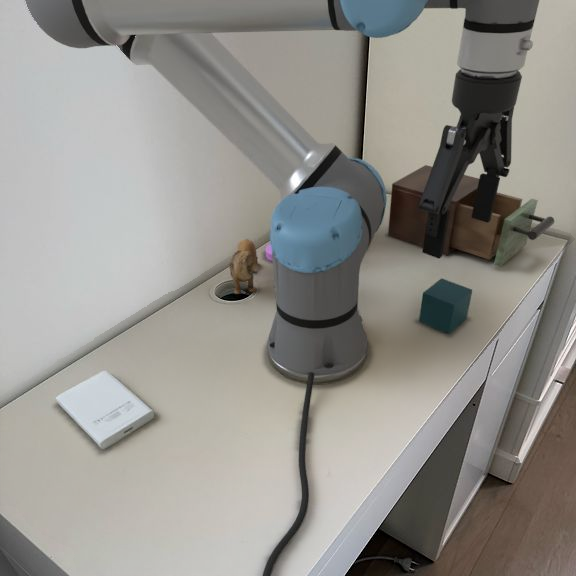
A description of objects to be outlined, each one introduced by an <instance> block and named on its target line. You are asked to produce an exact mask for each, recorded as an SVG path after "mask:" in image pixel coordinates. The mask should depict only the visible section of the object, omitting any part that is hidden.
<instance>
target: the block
mask: <svg viewBox="0 0 576 576" xmlns="http://www.w3.org/2000/svg"><path fill="white" fill-rule="evenodd" d="M472 294H473V289H472V288H469V287H466V286H464V285H461V284H459V283H455V282H452V281H450V280H448V279H445V278H442V277H441V278H440V279H439V280H437V281H436V282H435V283H433V284H432V285H431V286H430V287H429V288H427V289H426V290H425V291H423V292H422V297H421V304H420V310H419V318H418V322H419V323H422V324H424V325H426V326H428V327H430V328H433V329H435V330H437V331H440V332H442V333H444V334H447V335H450V334H451V333H452V332H453V331H455V330H456V329H457V328H458V327H459V326H460V325H461V324H462V323H463V322H465V321H466V320H467V317H468V314H469V313H468V312H469V309H470V303H471V299H472Z"/></svg>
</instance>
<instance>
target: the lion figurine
mask: <svg viewBox="0 0 576 576" xmlns="http://www.w3.org/2000/svg"><path fill="white" fill-rule="evenodd" d="M258 260H259V257H258V256H257V249H256V245H255V243H254V242H253V241H252V240H250V239H248V238H245V239H243V240H241V241H239V242H238V244H237V250H236V252H234V253H233V254H232V256H231V259H230V261H229V264H228V265H229V273H230V276H231V277H232V281H233V285H234V288H235V289H234V291H233V293H234V294H235V295H240V294H241V293H242V288H241V285H240V283H247V290H248V292H250V293H253V292H255V291H256V290H257V289H256V287H255V286H254V275H256V276H257V275H258V273H259V270H260V268H261V267H262V265H261V264H260V263H259V261H258Z"/></svg>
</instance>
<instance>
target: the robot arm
mask: <svg viewBox="0 0 576 576" xmlns="http://www.w3.org/2000/svg"><path fill="white" fill-rule="evenodd" d="M25 1H26V4H27V7H28V9H29V10H28V9H27V10H28V12H29V11H30V12H29V14H30V13H31V14H30V16H31V15H32V16H31V18H32V17H33V18H34V19H33V18H32V19H33V20H34V22H35V21H36V22H37V23H36V22H35V23H36V25H37V26H38V25H39V26H38V27H39V28H40V29H41V30H42V31H43V33H45V34H46V35H47V36H48V37H49V38H51V39H53V40H54V41H56V42H57V43H59V44H60V45H63V46H66V47H69V48H74V49H87V48H94V47H105V46H107V47H109V46H113V47H116V45H117V46H118V47H119V48H120V50H121V51H122V52H123V53H124V54H125V55H126V56H125V55H124V54H123V53H122V52H121V51H120V50H119V51H120V52H121V53H122V54H123V55H124V56H125V57H126V58H127V59H128V60H129V61H130V62H131V63H132V64H133V65H136V66H146V65H148V66H151V67H152V68H154V69H155V70H156V71H157V72H158V73H159V74H160V75H161V76H162V77H163V78H164V79H165V80H166V81H167V82H168V83H169V84H170V85H171V86H172V87H173V88H174V89H175V90H176V91H177V92H178V93H179V94H180V95H181V96H182V97H183V98H185V100H186V101H187V102H188V103H190V105H191V106H193V107H194V108H195V109H196V111H198V112H199V114H201V115H202V116H203V117H204V118H205V119H206V120H207V121H208V122H209V123H210V124H211V125H212V126H213V127H214V128H215V129H216V130H217V131H218V132H219V133H220V134H221V136H223V137H224V138H225V139H226V140H227V141H228V142H229V143H230V144H231V145H232V146H233V147H234V148H235V149H236V150H237V151H239V152H240V154H241V155H243V157H245V159H247V160H248V161H249V162H250V163H251V165H253V166H254V167H255V168H256V170H258V171H259V172H260V173H261V174H262V175H263V176H264V177H265V178H266V179H267V180H268V181H269V183H271V184H272V185H273V186H274V187H275V188H276V189H277V190H278V191H277V192H278V197H279V202H278V204H277V205H276V206H275V208H274V210H273V212H272V213H271V214H272V215H271V218H270V231H269V232H270V234H269V244H270V245H271V249H272V259H273V261H272V271H273V281H274V294H275V306H276V307H275V308H276V311H275V315H274V318H273V321H272V324H271V327H270V330H269V334H268V337H267V342H266V343H267V345H266V349H267V358H268V361H269V363H270V365H271V366H272V368H273V369H274V370H275V371H276V372H277V373H278V374H280V375H281V376H283V377H284V378H287V379H289V380H292V381H294V382H298V383H303V384H306V387H305V393H304V401H303V407H302V414H301V423H300V431H299V443H298V472H299V478H300V479H299V480H300V487H301V500H300V507H299V511H298V514H297V516H296V518H295V520H294V521H293V523H292V525H291V526H290V528H289V529H288V531H287V532H286V533H285V534H284V536H283V537H282V538H281V539H280V541H279V542H278V543H277V544H276V546H275V547H274V549H273V550H272V551H271V554H270V555H269V557H268V558H267V561H266V563H265V566H264V569H263V572H262V576H272V572H273V569H274V567H275V565H276V563H277V561H278V558H279V557H280V555H281V553H282V552H283V550H284V549H285V548H286V547H287V545H289V543H290V542H291V541H292V539H293V537H295V535H296V534H297V532H298V531H299V529H300V528H301V526H302V525H303V523H304V520H305V518H306V515H307V513H308V507H309V501H310V500H309V499H310V494H309V493H310V489H309V482H308V480H309V479H308V475H307V467H306V448H307V447H306V446H307V433H308V424H309V414H310V413H309V412H310V406H311V399H312V393H313V386H314V385H323V384H331V383H336V382H339V381H342V380H346V379H347V378H349V377H351V376H353V375H354V374H356V373H357V372H358V371H359V370H361V368H362V367H363V366H364V364H365V363H366V361H367V358H368V354H369V353H368V352H369V341H368V340H369V339H368V335H367V333H366V331H365V328H364V324H363V318H362V316H361V315H360V312H359V309H358V308H359V307H358V306H359V304H358V301H359V285H360V271H361V270H360V269H361V265H362V262H363V260H364V258H365V255H366V253H367V251H368V249H369V247H370V245H371V243H372V241H373V239H374V237H375V235H376V233H377V232H378V230H379V229H380V227H381V225H382V223H383V221H384V218H385V212H386V207H387V199H388V198H387V197H388V196H387V189H386V185H385V182H384V181H383V178H382V175H380V173H379V172H378V170H377V169H376V168H375V167H374V166H373V165H371V164H370V163H369V162H367V161H365V160H363V159H361V158H357V157H355V158H353V157H348V156H347V155H346V154H345V153H344V152H343V151H342V150H341V149H340V148H339V147H338V146H337V145H336V144H335V143H321V142H318V141H317V140H316V139H315V138H314V137H313V136H312V135H311V134H310V133H309V132H308V131H307V130H306V129H305V128H304V127H303V125H301V123H300V122H298V120H297V119H295V118H294V116H292V114H291V113H289V112H288V110H287V109H285V107H284V106H283V105H282V104H281V103H280V102H279V101H278V100H277V99H276V98H275V97H274V96H273V95H272V94H271V92H269V91H268V89H266V87H264V86H263V85H262V84H261V82H259V80H258V79H257V78H256V77H254V75H253V74H252V73H251V72H250V71H249V70H248V69H247V68H246V67H245V66H244V65H243V64H242V63H241V62H240V61H239V60H238V58H236V56H235V55H233V54H232V52H230V50H228V49H227V48H226V47H225V45H224V44H223V43H222V42H221V41H220V40H219V39H218V38H217V37H216V36H215V35H214V34H219V33H220V34H222V33H259V32H260V33H261V32H265V33H267V32H302V31H306V32H307V31H345V32H350V31H351V32H355V31H357V32H358V33H360V34H361V35H364V36H365V37H369V38H372V39H383V38H387V37H391V36H393V35H397V34H399V33H401V32H403V31H405V30H406V29H408V28H409V27H410V26H411V25H412V24H413V23H414V22H415V21H417V19H418V18H419V16H421V14H422V13H423V11H424V9H452V10H454V9H455V10H457V9H465V12H464V13H465V14H464V19H463V26H462V31H461V38H460V43H459V48H458V49H459V50H458V55H457V62H456V65H457V66H458V67H459V68H460V69H458V71H457V72H456V73H455V78H454V83H453V91H452V94H451V95H452V96H451V104H452V105H453V106H454V108H456V109H458V111H459V113H460V114H459V118H458V121H457V124H456V126H454V125H448V124H446V125H445V126H444V127H443V129H442V133H441V139H440V142H439V143H440V144H439V146H438V147H439V148H438V151H437V153H436V155H435V156H436V157H435V159H434V161H433V164H432V166H431V167H432V170H431V172H430V175H429V178H428V181H427V184H426V186H425V189H424V192H423V195H422V198H421V200H420V203H419V209H421V210H424V211H427V212H428V216H427V223H426V230H425V237H424V244H423V247H422V250H421V252H422V254H424V255H428V256H430V257H433V258H436V259H439V260H440V259H441V258H442V257H443V255H444V254H443V250H444V244H445V238H446V233H447V227H448V221H449V216H450V211H448V210H447V208H448V206H449V204H450V202H451V200H452V198H453V196H454V194H455V192H456V190H457V188H458V186H459V184H460V182H461V180H462V177H463V175H465V173H466V171H467V169H468V167H469V165H472V164H473V163H475V161H476V159H477V157H478V155H479V157H480V161H481V164H482V168H483V172H484V173H481V174H479V177H478V178H479V183H478V188H477V193H476V197H475V202H474V207H473V212H472V217H471V218H474V219H477V220H481V221H484V222H487V223H488V222H490V220H491V216H492V211H493V207H494V203H495V198H496V194H497V193H498V189H499V186H500V185H499V184H500V181H501V177H503V178H507V177H508V176H509V173H510V168H509V167H510V166H511V164H512V144H513V143H512V142H513V140H512V135H513V134H512V133H513V132H512V131H513V116H514V110H515V106H516V104H517V100H518V96H519V92H520V87H521V84H522V83H521V82H522V79H523V75H522V74H521V73H522V72H520V70H521V69H522V68H524V67H525V63H526V59H527V55H528V51H530V50H532V49H533V45H534V43H533V41H532V40H531V37H532V33H533V28H534V24H535V21H536V16H537V13H538V8H539V4H540V0H25ZM25 1H24V2H25ZM26 4H25V5H26ZM27 7H26V8H27ZM135 36H136V37H135Z"/></svg>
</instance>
